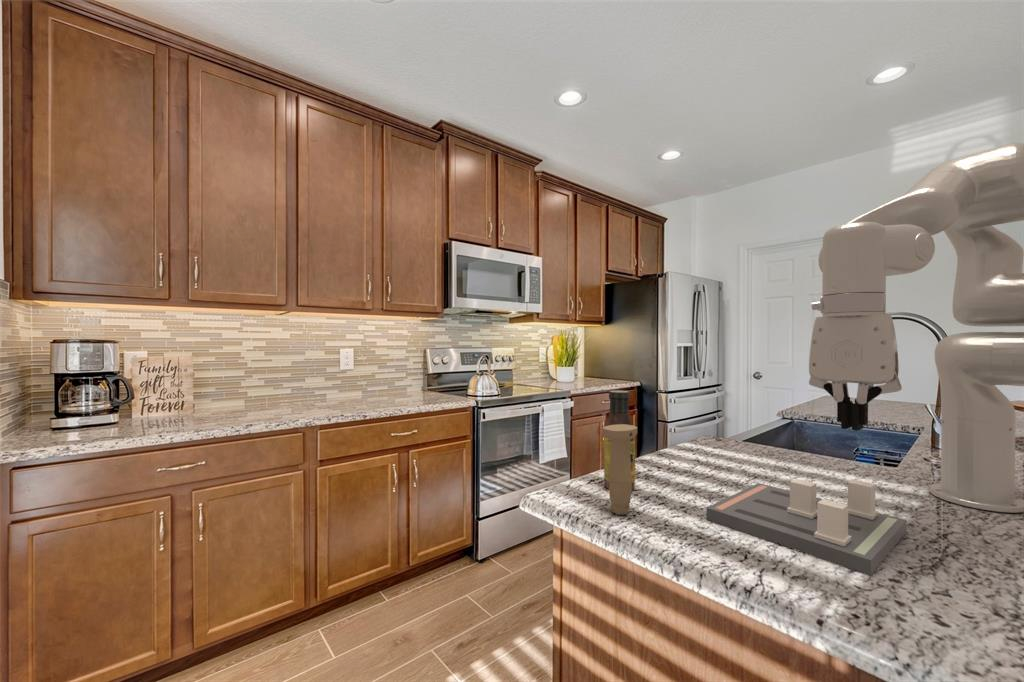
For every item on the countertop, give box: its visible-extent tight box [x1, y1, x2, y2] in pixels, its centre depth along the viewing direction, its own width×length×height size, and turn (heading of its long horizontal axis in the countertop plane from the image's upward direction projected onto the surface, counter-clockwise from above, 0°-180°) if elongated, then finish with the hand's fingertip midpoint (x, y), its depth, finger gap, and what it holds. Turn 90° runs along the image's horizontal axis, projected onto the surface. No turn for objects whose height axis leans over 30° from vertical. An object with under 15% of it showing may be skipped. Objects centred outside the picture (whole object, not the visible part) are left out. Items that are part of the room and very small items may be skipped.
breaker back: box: [847, 479, 879, 520], centre depth 70 cm, size 3×4×5 cm
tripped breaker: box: [787, 478, 817, 519], centre depth 71 cm, size 3×4×5 cm
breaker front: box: [814, 498, 851, 547], centre depth 62 cm, size 3×4×5 cm
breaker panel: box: [705, 482, 908, 576], centre depth 71 cm, size 20×22×2 cm
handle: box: [602, 424, 638, 516], centre depth 77 cm, size 5×6×15 cm
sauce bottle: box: [603, 389, 636, 491], centre depth 89 cm, size 7×6×20 cm
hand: (852, 428), depth 66 cm, fingers closed
